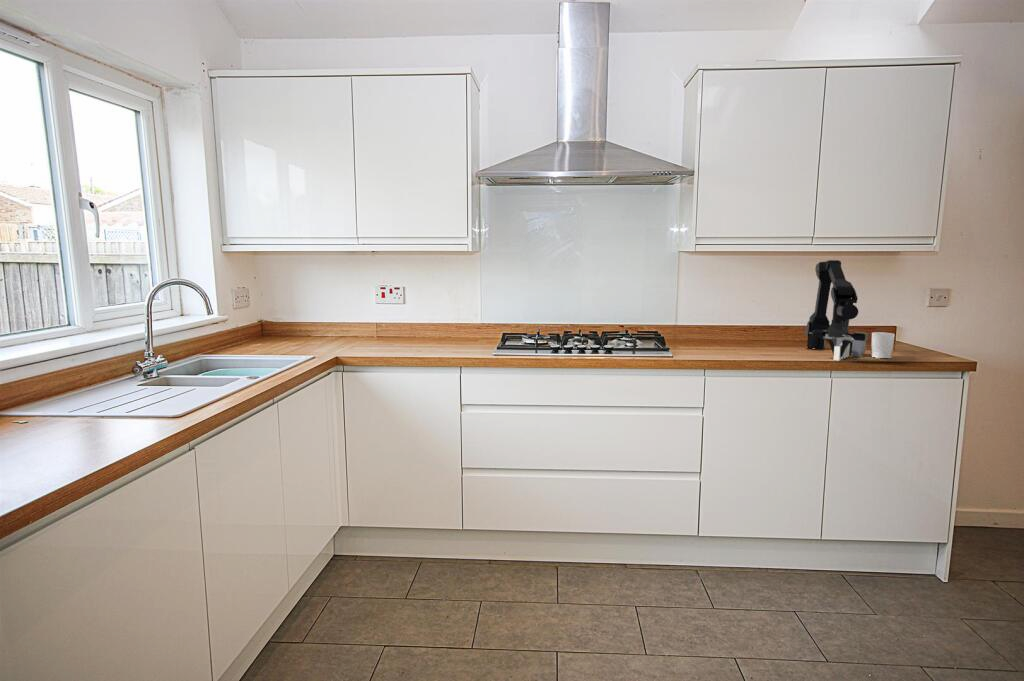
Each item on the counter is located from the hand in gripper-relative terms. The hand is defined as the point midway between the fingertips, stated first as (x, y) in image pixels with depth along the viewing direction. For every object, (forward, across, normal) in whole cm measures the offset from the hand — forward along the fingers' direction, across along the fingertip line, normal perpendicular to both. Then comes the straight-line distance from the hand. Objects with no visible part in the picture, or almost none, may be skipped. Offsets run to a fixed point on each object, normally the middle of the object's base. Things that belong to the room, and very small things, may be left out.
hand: (837, 356), depth 229 cm
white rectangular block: (+1, 0, +6) cm, 6 cm away
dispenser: (+2, 0, +20) cm, 20 cm away
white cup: (+2, +11, +20) cm, 23 cm away
